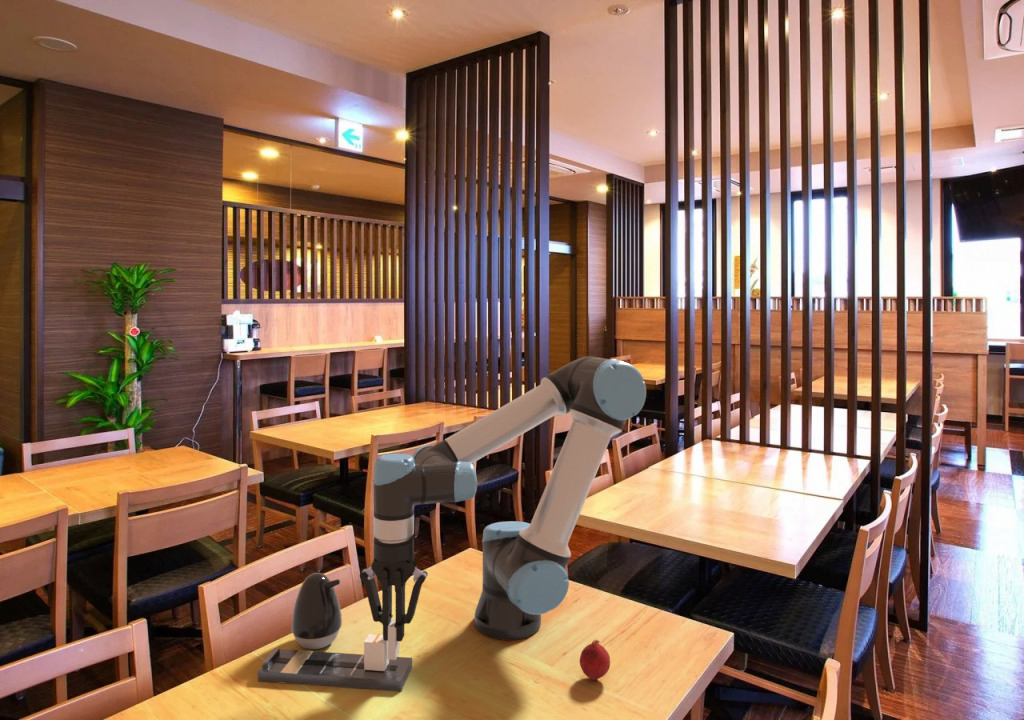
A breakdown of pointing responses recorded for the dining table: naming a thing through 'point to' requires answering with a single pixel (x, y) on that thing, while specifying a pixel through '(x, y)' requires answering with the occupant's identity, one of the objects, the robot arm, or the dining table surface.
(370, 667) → the fader knob
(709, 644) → the dining table surface
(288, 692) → the dining table surface
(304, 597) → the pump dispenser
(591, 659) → the onion
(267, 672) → the console
